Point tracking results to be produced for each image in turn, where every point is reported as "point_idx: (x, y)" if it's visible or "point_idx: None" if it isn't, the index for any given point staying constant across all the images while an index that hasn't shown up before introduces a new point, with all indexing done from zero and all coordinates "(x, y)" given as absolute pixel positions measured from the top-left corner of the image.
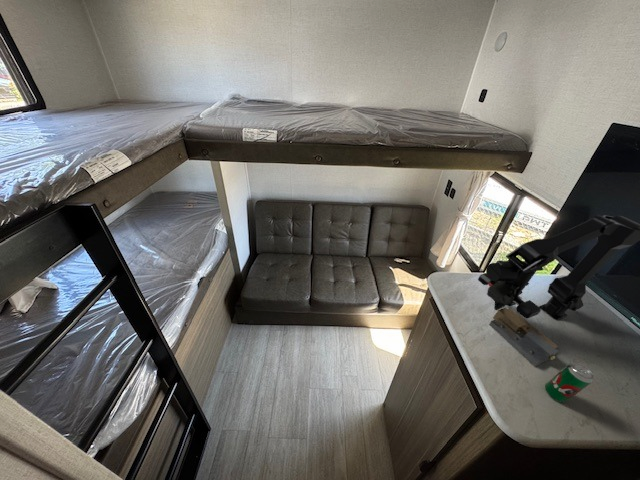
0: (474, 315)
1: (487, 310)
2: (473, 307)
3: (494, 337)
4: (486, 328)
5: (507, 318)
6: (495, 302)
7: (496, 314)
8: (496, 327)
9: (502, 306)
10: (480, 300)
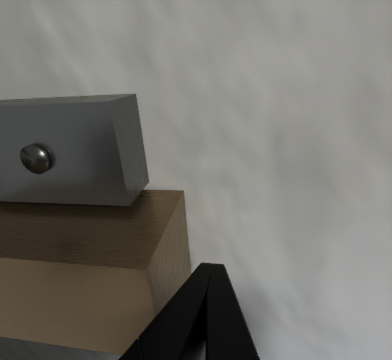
0: (274, 32)
1: (265, 220)
2: (360, 123)
3: (5, 17)
4: (101, 25)
5: (32, 252)
6: (241, 344)
7: (160, 222)
8: (53, 101)
9: (125, 356)
10: (377, 261)
